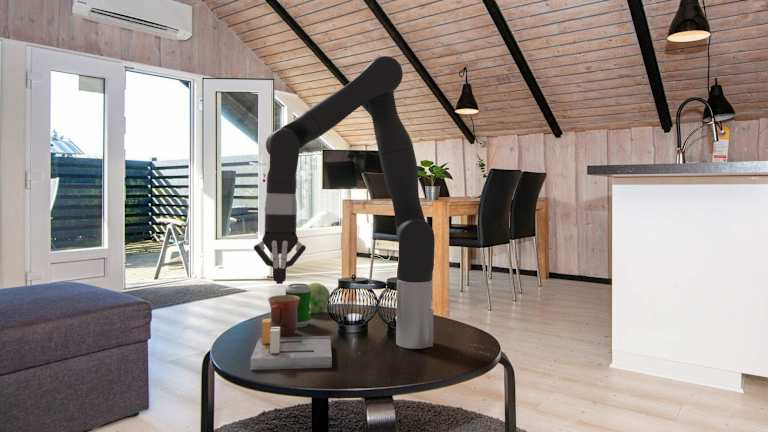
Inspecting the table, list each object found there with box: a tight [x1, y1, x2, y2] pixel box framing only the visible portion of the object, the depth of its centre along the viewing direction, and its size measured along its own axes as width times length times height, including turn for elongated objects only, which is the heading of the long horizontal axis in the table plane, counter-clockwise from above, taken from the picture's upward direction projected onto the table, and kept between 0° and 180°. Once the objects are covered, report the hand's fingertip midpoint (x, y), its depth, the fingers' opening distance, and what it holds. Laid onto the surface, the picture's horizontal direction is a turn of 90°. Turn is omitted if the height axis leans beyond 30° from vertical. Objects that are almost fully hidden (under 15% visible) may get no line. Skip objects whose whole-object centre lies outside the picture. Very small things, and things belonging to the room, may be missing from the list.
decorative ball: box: [307, 282, 331, 314], centre depth 171 cm, size 10×10×10 cm
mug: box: [267, 294, 300, 337], centre depth 143 cm, size 12×9×10 cm
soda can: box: [285, 283, 312, 328], centre depth 155 cm, size 8×8×12 cm
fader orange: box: [261, 318, 272, 344], centre depth 128 cm, size 2×4×5 cm, turn 7°
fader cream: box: [270, 327, 280, 353], centre depth 120 cm, size 2×4×5 cm, turn 7°
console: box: [250, 335, 333, 371], centre depth 125 cm, size 18×17×3 cm
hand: (279, 283), depth 126 cm, fingers closed
